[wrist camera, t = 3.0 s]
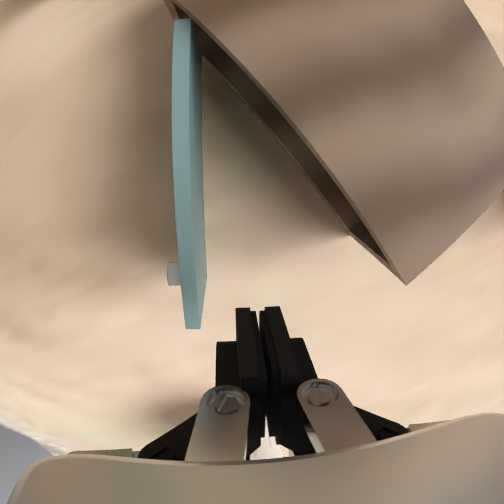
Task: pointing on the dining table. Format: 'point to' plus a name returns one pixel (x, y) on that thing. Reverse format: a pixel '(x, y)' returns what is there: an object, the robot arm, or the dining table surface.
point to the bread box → (371, 109)
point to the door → (188, 172)
